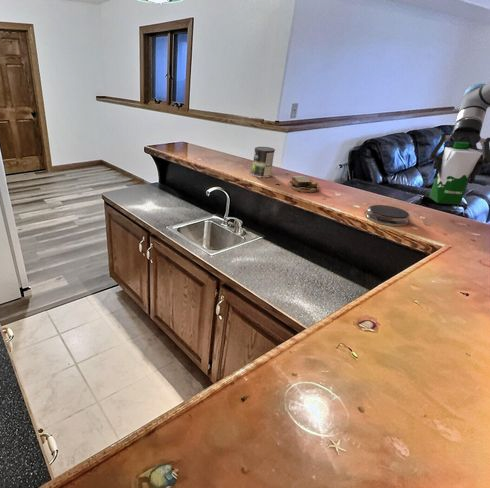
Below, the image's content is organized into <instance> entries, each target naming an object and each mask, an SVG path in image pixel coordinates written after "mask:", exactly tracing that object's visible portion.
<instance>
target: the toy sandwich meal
mask: <svg viewBox="0 0 490 488" xmlns="http://www.w3.org/2000/svg"><path fill="white" fill-rule="evenodd" d="M289 183H290V187H291V189H292V190H293V191H296V192H299V191H300V193H307V192H310V193H315V192H316V191H319V187H318V186H319V182H316V183H315V182H314V181H313V180H312V179H311V178H308V177H307V176H305V175H293V176H292V177H291V180H290V181H289Z"/></svg>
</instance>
